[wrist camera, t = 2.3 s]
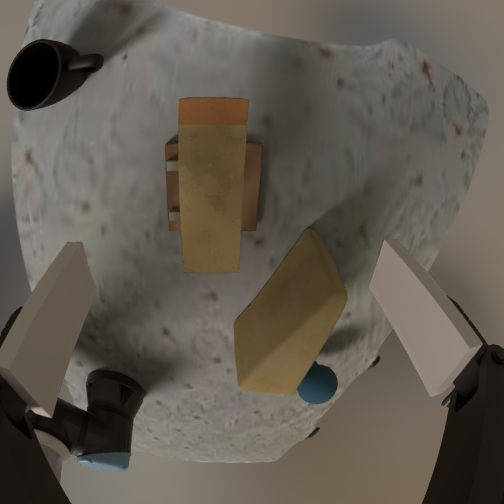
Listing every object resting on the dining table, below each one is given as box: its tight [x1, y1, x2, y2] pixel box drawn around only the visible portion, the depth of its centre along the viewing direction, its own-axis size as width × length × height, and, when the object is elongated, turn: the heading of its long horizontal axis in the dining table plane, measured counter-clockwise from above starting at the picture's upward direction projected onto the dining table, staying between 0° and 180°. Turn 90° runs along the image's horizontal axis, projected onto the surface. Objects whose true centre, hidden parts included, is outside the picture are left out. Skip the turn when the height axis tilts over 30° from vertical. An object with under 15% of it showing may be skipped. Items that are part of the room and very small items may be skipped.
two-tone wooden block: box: [178, 97, 249, 273], centre depth 26 cm, size 15×5×9 cm, turn 176°
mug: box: [7, 39, 104, 111], centre depth 22 cm, size 8×12×10 cm
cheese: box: [234, 228, 347, 394], centre depth 41 cm, size 22×10×15 cm, turn 158°
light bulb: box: [297, 361, 338, 404], centre depth 54 cm, size 8×8×12 cm
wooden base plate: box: [165, 142, 263, 231], centre depth 35 cm, size 12×12×6 cm
